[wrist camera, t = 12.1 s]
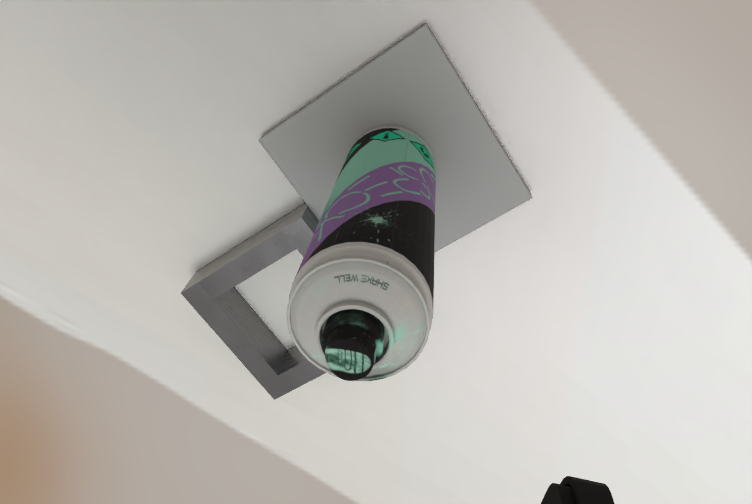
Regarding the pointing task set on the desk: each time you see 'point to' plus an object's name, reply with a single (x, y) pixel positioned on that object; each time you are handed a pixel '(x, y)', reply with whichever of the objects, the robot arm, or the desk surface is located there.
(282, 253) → the grey square frame
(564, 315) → the desk surface
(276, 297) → the desk surface
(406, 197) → the spray can
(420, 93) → the mat
